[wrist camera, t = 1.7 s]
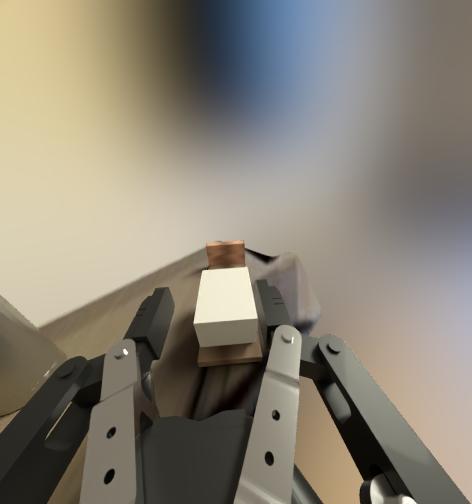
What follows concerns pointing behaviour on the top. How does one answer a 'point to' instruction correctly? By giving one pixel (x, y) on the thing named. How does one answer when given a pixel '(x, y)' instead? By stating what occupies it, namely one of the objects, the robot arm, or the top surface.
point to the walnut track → (224, 258)
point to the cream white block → (225, 308)
